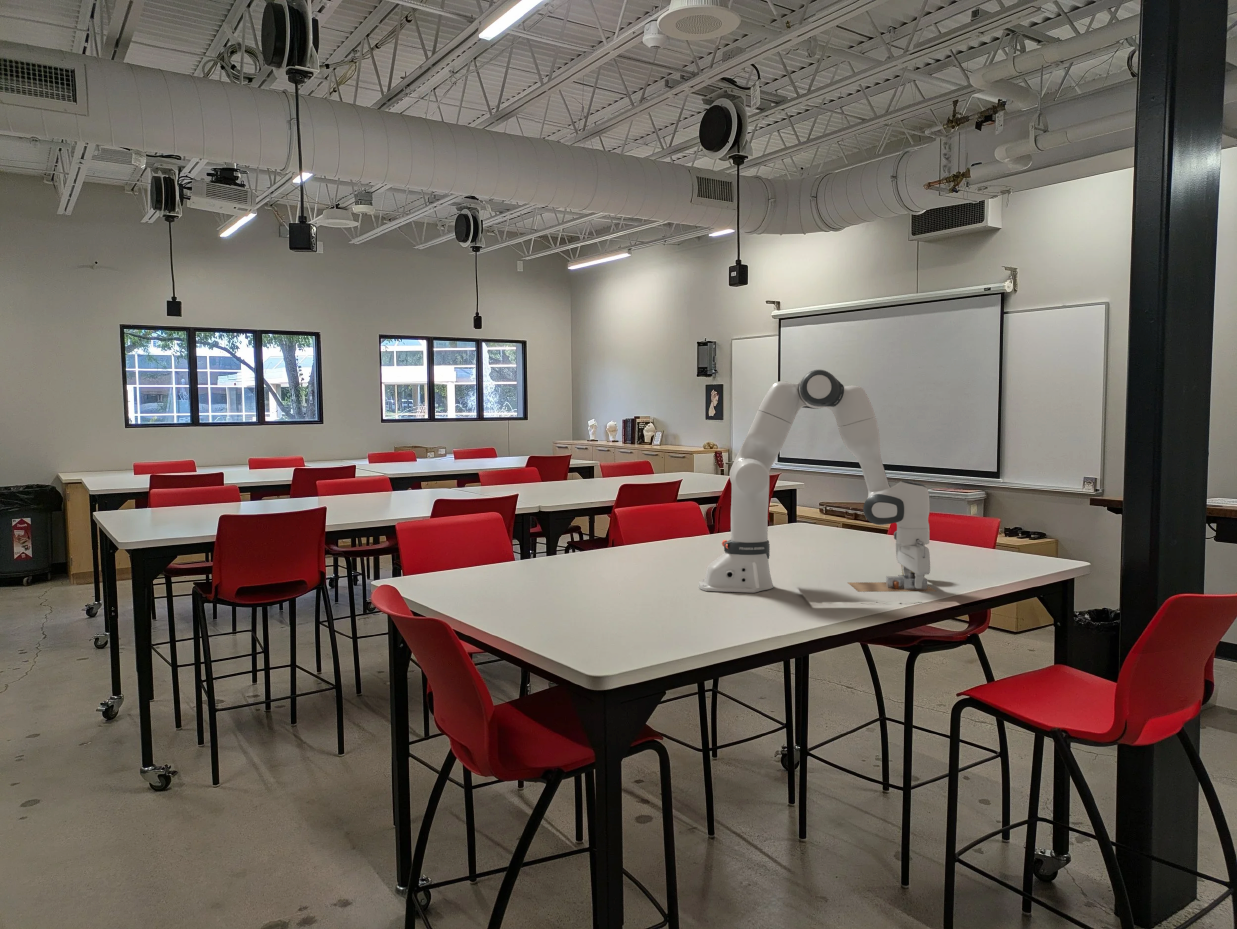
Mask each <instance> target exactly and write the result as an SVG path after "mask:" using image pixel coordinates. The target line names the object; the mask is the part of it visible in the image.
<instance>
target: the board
mask: <svg viewBox="0 0 1237 929" xmlns="http://www.w3.org/2000/svg"><path fill="white" fill-rule="evenodd" d="M908 578H915V573H912V572H911V573H908ZM847 584H848V585H850V586H851V587H852V588H853V589H855V591H857V592H859V593H860V592H861V593H862V592H863V593H865V592H870V593H871V592H877V593H878V592H880V593H881V592H886V593H887V592H900V593H901V592H937V590H936V589H934V588H933V587H931V586H929V585H928V584H927V590H904V589H903V588H899V582H898V581H895V582H894V588H887V587H886V581H885V582H884V581H883V582H881V581H880V582H879V581H878V582H877V581H876V582H872V581H871V582H869V581H868V582H867V581H866V582H859V581H855V582H852V581H851V582H847Z"/></svg>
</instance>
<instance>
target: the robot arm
mask: <svg viewBox="0 0 1237 929" xmlns="http://www.w3.org/2000/svg"><path fill="white" fill-rule="evenodd" d="M802 408H805V409H811V410H812V409H814V410H819V409H823V408H827V409H829V410H830V411H831V412H832V414H833V416H834V418H835V421H836V424H837V428H838V432H839V434H840V438H841V440H842V441H843V444H844V446H845V447H846V450H847V451H848V452H850V454H852V455H853V456H854V457H855V459H856V460H857V462H858V463H859V465H860V468H861V472H862V474H863V479H864V481H865V484H866V488H867V498H866V499H865V501H864V502H863V503H864V504H863V507H862V508H863V509H862V511H863V515H864V517H865V518H866V519H867V520H868V522H870V523H871V524H874V525H877V526H886V525H890V524H896V530H895V531H894V533H893V539H894V540H895V554H896V555H895V556H896V561H897V563H898V564H899V565H900V566H901V565H903V567H902V568H901V570H902V569H903V573H904V575H908V573H911V571H913V572H914V573H915V581H914V587H916V588H922V581H923V578H924V577H925V575H927V576H928V575H929V574H931V557H930V555H931V554H930V549H929V548H928V546H926V545H929V544H930V523H929V517H930V516H929V515H930V513H931V512H930V508H931V507H930V506H931V505H930V504H931V503H930V493H929V489H928V488H927V486H926V485H925V484H923V483H921V482H917V481H913V480H900V481H899V482H898V483H897V484H895V485H893V486H891V485H890V482H889V480H888V477H887V474H886V470H885V466H884V464H883V460H882V456H881V440H880V439H881V438H880V429H879V424H878V421H877V416H876V412H875V410H874V408H873V405H872V403H871V401H870V398H869V396H868V394H867V392H866V390H865V389H864V388H863V387H862V386H859V385H854V384H853V385H852V384H851V385H845V386H844V384H843V383H841V381H839V379H838V378H836V376H834V375H833V373H830V372H829V371H827V370H824V369H814V370H811V371H809V372H808V373H806V374H805V375H804V376H803V377H802V378H801V380H799V382H796V383H792V382H788V381H784V380H780V381H776V382H775V383H773V384H772V385H771V386H770V387H769V389H768V390H767V392H766V393H765V395H764V397H763V399H762V401H761V402H760V405H759V407H758V409H757V410H756V414H755V415H754V418H753V421H752V422H751V424H750V427H749V429H748V432H747V434H746V436H745V438H744V440H743V442H742V444H741V446H740V448H739V450H738V452H737V454H736V456H735V459H734V461H733V463H732V465H731V467H730V470H729V480H730V483H731V494H730V496H731V498H730V499H731V502H730V504H731V505H730V539H729V540H727V539H724V540H722V541H721V545H722V547H723V551H724V552H723V553H722V554H721V555H719V556H718V557H717V558H715V559H714V560H712V561H711V562H710V563H709V564H708V566H707V567H706V572H705V578H704V579H701V580H699V581H698V588H699V589H700V590H702V591H705V592H722V593H723V592H725V593H726V592H727V593H728V592H729V593H731V592H732V593H749V594H750V593H751V594H752V593H754V594H755V593H758V592H761V591H766V590H771V589H773V588H774V584H773V579H772V575H771V569H770V562H769V559H770V557H771V555H770V552H771V551H770V550H771V548H770V541H769V539H768V536H769V533H768V532H769V531H768V530H769V529H768V527H769V526H768V525H769V524H768V521H769V520H768V518H769V517H768V516H769V515H768V514H769V500H770V496H769V495H770V473H769V472H770V471H771V469H772V466H773V465H774V463H775V461H776V460H777V457H778V455H779V454H780V452H781V450H782V448H783V446H784V444H785V441H786V439H787V436H788V435H789V433H790V430H791V428H792V426H793V423H794V420H795V418H796V417H797V414H798V413H799V411H800V410H801V409H802Z"/></svg>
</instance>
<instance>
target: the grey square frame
mask: <svg viewBox="0 0 1237 929" xmlns="http://www.w3.org/2000/svg"><path fill="white" fill-rule="evenodd" d="M895 581H898V582H899V588H903V589H904V590H927V585H928V578H926V577H925V576H924V578H923V581H922V588H916V587H914V581H915V578H908V575H902V574H898V575H897V576H896V575H895V576H889V575H886V577H885V582H886V587H887V588H894V582H895Z"/></svg>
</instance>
